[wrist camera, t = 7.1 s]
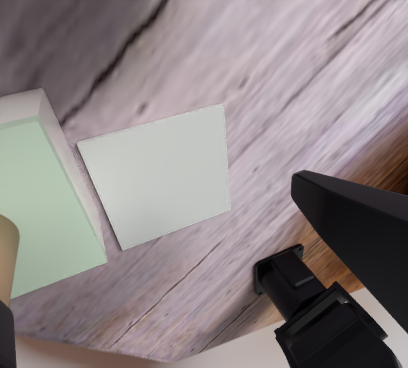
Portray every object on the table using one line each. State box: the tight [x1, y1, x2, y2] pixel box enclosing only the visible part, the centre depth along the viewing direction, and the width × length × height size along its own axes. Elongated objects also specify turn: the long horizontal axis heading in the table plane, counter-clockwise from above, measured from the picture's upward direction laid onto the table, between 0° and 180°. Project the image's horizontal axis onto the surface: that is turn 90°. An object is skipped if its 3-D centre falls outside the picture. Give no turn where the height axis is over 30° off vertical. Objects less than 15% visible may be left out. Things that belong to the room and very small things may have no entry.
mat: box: [77, 103, 231, 251], centre depth 22 cm, size 10×10×1 cm
